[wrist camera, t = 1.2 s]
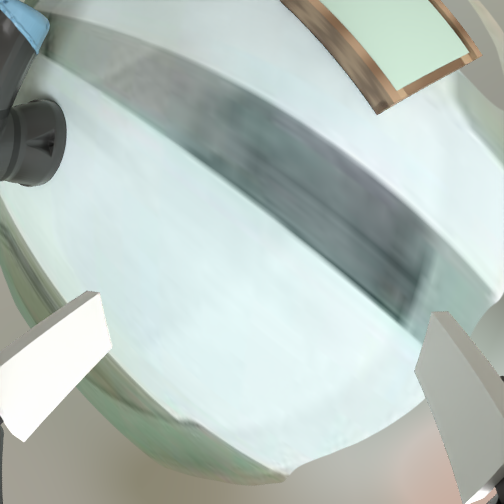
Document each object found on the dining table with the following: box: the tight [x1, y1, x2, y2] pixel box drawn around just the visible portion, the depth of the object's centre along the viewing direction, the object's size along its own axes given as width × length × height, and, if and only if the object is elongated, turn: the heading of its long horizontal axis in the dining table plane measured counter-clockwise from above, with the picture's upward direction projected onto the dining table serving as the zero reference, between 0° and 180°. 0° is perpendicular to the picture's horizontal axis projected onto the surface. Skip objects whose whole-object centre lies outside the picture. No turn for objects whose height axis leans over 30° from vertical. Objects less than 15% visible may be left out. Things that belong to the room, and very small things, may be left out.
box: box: [280, 0, 482, 115], centre depth 23 cm, size 20×15×7 cm
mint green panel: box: [319, 0, 469, 91], centre depth 20 cm, size 17×12×4 cm
